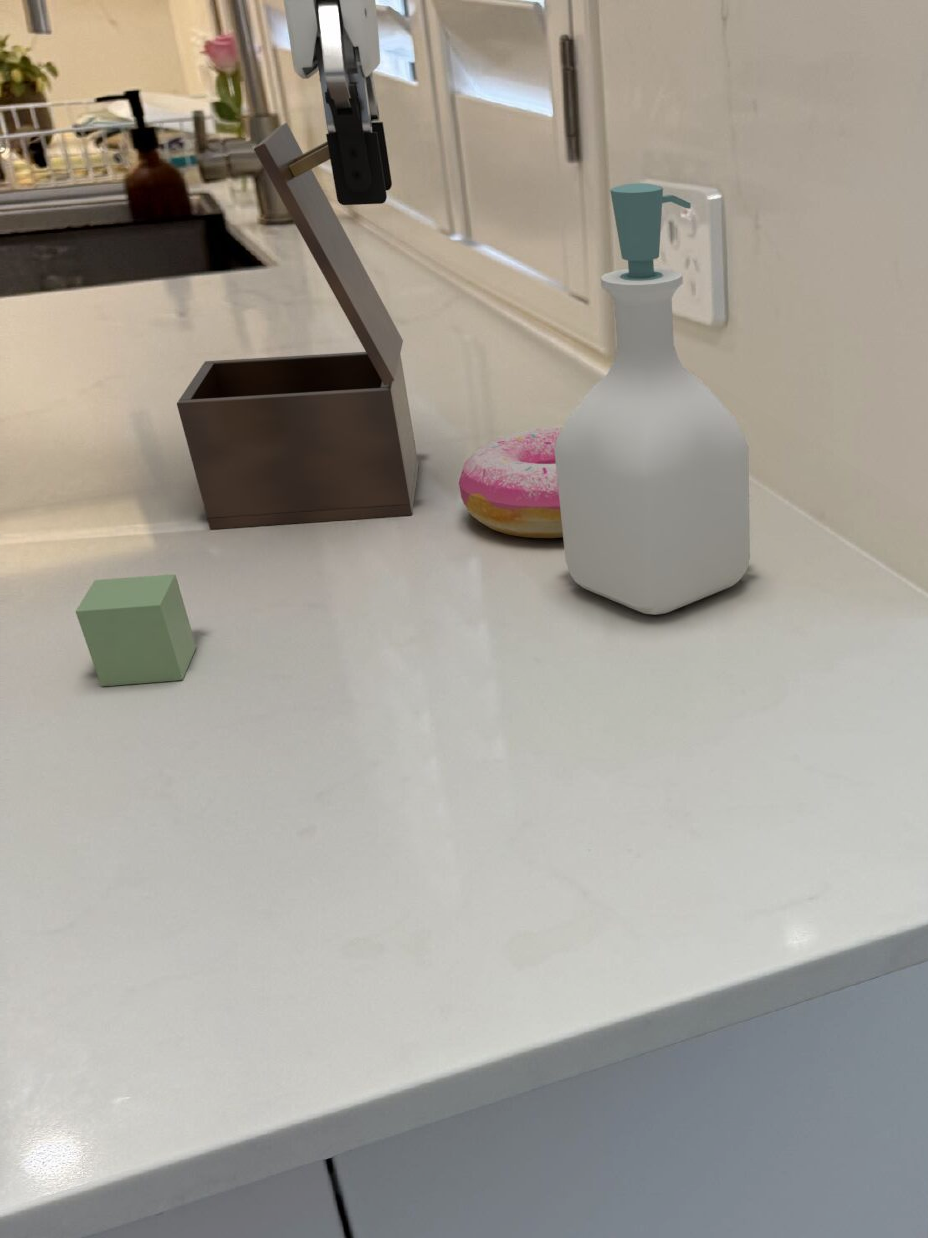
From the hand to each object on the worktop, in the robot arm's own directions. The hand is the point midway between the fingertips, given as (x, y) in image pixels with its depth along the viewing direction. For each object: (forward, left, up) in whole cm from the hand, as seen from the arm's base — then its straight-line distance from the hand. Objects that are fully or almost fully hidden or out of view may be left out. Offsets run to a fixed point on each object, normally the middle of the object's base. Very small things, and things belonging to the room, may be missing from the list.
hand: (365, 193), depth 90 cm
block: (-14, -29, -20) cm, 38 cm away
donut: (+11, -8, -20) cm, 24 cm away
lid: (-3, 0, -4) cm, 5 cm away
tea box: (-7, 0, -20) cm, 21 cm away
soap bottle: (+17, -23, -20) cm, 35 cm away
